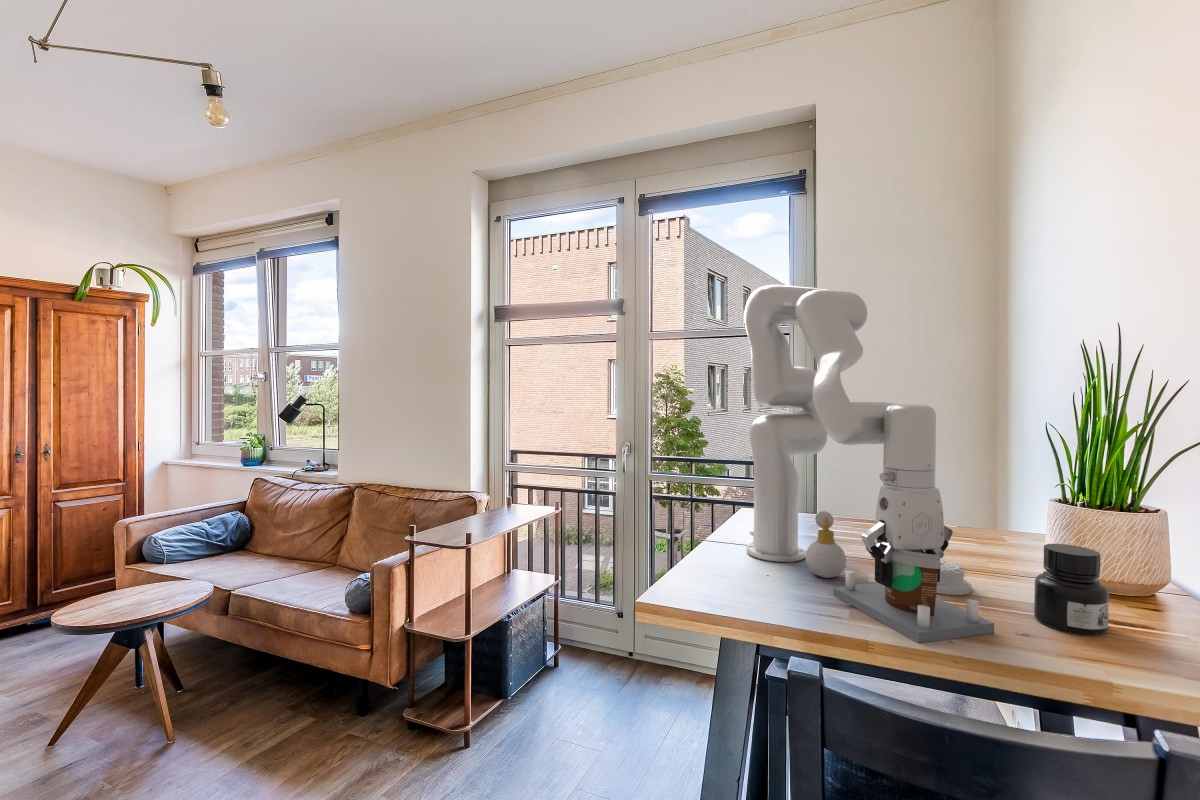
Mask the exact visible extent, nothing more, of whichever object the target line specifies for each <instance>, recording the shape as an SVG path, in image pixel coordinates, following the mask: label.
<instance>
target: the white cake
mask: <svg viewBox="0 0 1200 800" xmlns="http://www.w3.org/2000/svg"><path fill="white" fill-rule="evenodd" d="M940 565H941V569H940V582H937V590H936V594H941V595H947V596H948V595H949V596H963V595H968V594H970V593H971V592H972V583H971V582H970V581H969V580H967V579H966V578H965V577H964V566H962V565H959V563H954V562H951V561H949V560H943V559H940Z"/></svg>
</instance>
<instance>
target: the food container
mask: <svg viewBox="0 0 1200 800" xmlns="http://www.w3.org/2000/svg"><path fill="white" fill-rule="evenodd" d="M886 549H887V548H886V547H885V548H884V550H883V553H884V552H885V550H886ZM940 560H941V558H940V559H939V555H934V554H927V553H925V551H924V550H917V551H907V550H903V551H897V550H895V551H893V556H892V557H891V559H890V560H889V562H890V563H892V565H893V567H892V586H891V587H886V586H885V599H886V602H887V603H888V604H890V605H891V606H893V607H895V608H898V609H900V610H903V611H906V612H910V613H914V614H918V605H925V606H928V607H930V616H934V612H935V601H936V598H937V593H936V590H937V579H938V569H941V565H940Z"/></svg>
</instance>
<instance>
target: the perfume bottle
mask: <svg viewBox="0 0 1200 800" xmlns="http://www.w3.org/2000/svg"><path fill="white" fill-rule="evenodd" d="M814 519H815V524H816V525H817V526H818V527H819V528H820V529H818V531H817V539H816V540H815V541H813V542H812V543H811V544H810V545H809V546H808V547H807V550H805V562H806V565H807V567H808V569H809V570H810V571H811V572H812V573H813V574H814V575H816V576H818V577H820V578H825V579H832V578H837V577H838V576H840V575H841V574H842V573H844V570H845V569H846V567H847V566H846V565H847V556H846V554H845V551H844V550H843V548H842V547H841V546H840V545H839V544H838V543H836V542H835V536H834V534H835V532H834V530H830V528H832V526H833V525H834V522H835V521H834V520H835V519H834V517H833V515H832V514H831V513H830V512H828V511H825V510H823V511H819V512H818V513H817V514H816V515H815V518H814Z"/></svg>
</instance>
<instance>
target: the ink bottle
mask: <svg viewBox="0 0 1200 800" xmlns="http://www.w3.org/2000/svg"><path fill="white" fill-rule="evenodd" d="M1043 569H1044V571H1043V572H1042V573H1040V574H1038V575H1037V576H1036V577H1035V579H1034V598H1033V599H1034V600H1033V601H1034V602H1033V603H1034V604H1033V606H1034V607H1033V608H1034V609H1033V610H1034V611H1033V614H1034V617H1035V619H1036V620H1037V621H1038V622H1039V623H1042V624H1043V625H1047V626H1049V627H1051V628H1054V629H1057V630H1059V631H1063V632H1067V633H1071V634H1076V635H1081V636H1102V635H1104V634H1106V633H1107V632H1108V630H1109V608H1110V606H1109V605H1110V602H1109V600H1110V598H1109V597H1110V594H1109V589H1108V588H1107V587H1106V586H1105V585H1103V584H1102V582H1101V581H1099V578H1100V576H1101V553H1100V552H1099V551H1097V550H1095V549H1092V548H1091V549H1090V548H1088V547H1084V546H1079V545H1073V544H1067V543H1047V544H1044V545H1043Z"/></svg>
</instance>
